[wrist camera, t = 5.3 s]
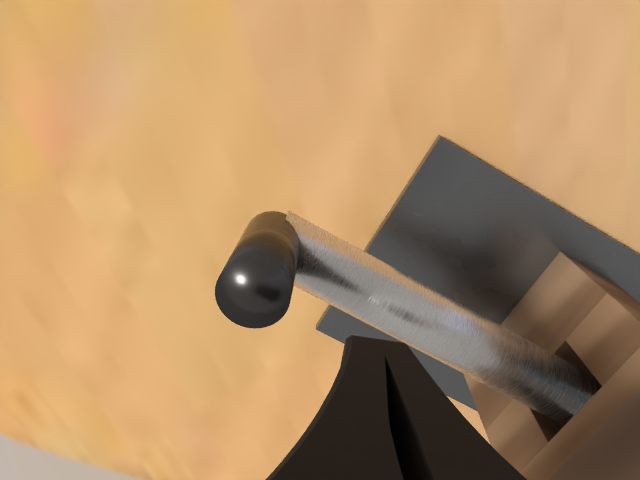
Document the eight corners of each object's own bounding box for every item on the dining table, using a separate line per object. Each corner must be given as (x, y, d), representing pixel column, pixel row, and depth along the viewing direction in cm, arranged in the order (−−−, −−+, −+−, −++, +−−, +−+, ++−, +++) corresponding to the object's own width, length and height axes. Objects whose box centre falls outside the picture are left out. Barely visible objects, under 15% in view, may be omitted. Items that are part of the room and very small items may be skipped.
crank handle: (586, 363, 17) (671, 470, 13) (550, 402, 18) (620, 517, 13) (267, 189, 15) (236, 243, 11) (240, 239, 16) (201, 310, 12)
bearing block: (616, 284, 21) (756, 399, 14) (514, 398, 23) (590, 546, 16) (560, 251, 20) (675, 352, 13) (462, 371, 22) (516, 511, 15)
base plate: (733, 310, 21) (740, 314, 21) (582, 459, 24) (585, 466, 24) (438, 134, 19) (440, 136, 19) (316, 324, 22) (315, 329, 22)
